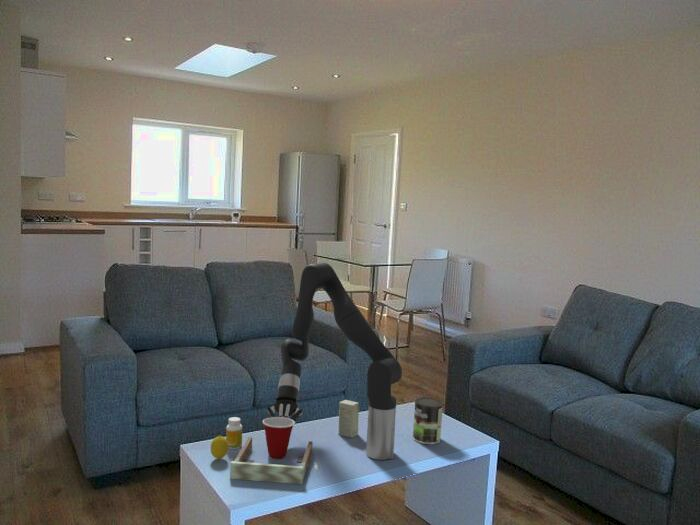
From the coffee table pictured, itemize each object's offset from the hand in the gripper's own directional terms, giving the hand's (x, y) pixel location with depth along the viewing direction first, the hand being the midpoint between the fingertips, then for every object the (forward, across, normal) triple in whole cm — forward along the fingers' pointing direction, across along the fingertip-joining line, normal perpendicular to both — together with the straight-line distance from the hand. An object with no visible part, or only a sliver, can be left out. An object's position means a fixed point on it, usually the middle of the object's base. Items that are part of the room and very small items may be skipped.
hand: (281, 435), depth 206 cm
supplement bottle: (+4, -16, +3) cm, 17 cm away
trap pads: (+11, 0, -4) cm, 11 cm away
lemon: (+12, -18, -5) cm, 22 cm away
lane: (+12, 0, -5) cm, 13 cm away
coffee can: (-9, +51, +17) cm, 54 cm away
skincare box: (-9, +22, +16) cm, 28 cm away
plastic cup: (+7, 0, 0) cm, 7 cm away
